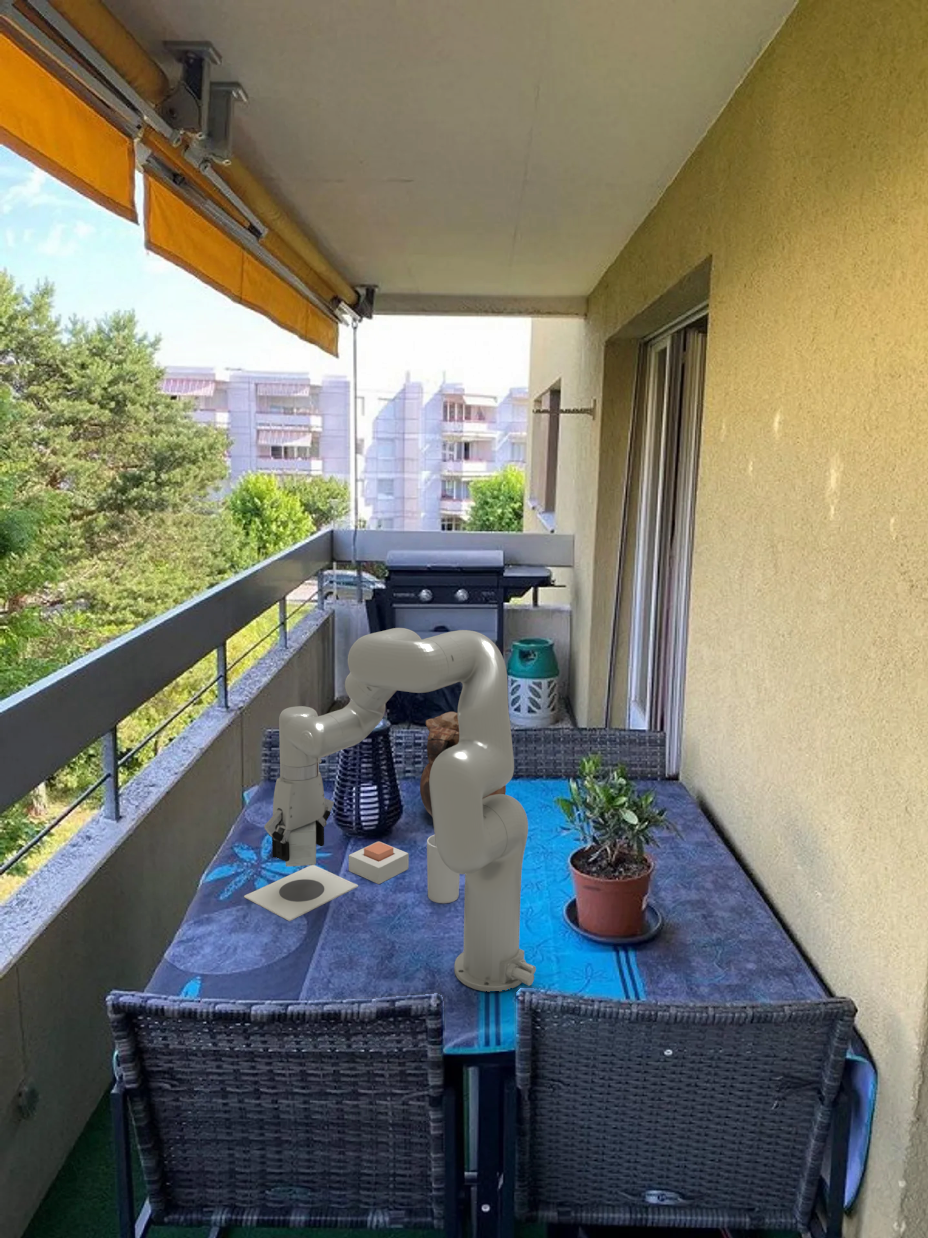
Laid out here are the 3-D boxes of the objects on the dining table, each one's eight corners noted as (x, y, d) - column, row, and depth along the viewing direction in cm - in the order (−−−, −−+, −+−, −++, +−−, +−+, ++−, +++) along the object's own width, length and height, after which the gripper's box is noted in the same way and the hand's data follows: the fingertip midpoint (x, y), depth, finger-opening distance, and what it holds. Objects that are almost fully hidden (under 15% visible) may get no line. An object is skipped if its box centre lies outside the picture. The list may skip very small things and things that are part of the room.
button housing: (408, 869, 189) (408, 853, 188) (378, 884, 182) (378, 868, 182) (378, 856, 195) (378, 841, 194) (348, 870, 188) (348, 855, 187)
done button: (393, 858, 188) (393, 847, 188) (378, 865, 185) (378, 854, 185) (378, 852, 191) (378, 841, 191) (364, 859, 188) (364, 848, 187)
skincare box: (316, 865, 175) (315, 830, 174) (285, 867, 174) (284, 832, 172) (316, 852, 181) (315, 818, 179) (286, 853, 180) (285, 819, 178)
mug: (455, 906, 174) (456, 849, 172) (422, 902, 175) (423, 846, 173) (466, 882, 184) (467, 828, 181) (435, 878, 185) (436, 825, 183)
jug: (428, 797, 228) (428, 704, 224) (508, 803, 226) (511, 709, 221) (411, 833, 207) (411, 731, 202) (500, 840, 204) (502, 736, 199)
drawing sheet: (358, 886, 181) (358, 884, 181) (289, 921, 167) (289, 919, 167) (312, 865, 190) (312, 864, 190) (244, 897, 176) (243, 895, 176)
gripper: (320, 754, 183) (320, 832, 186) (251, 776, 169) (253, 860, 173) (345, 762, 178) (345, 843, 181) (276, 786, 165) (278, 872, 168)
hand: (300, 851), depth 177 cm, fingers closed on skincare box, 8 cm apart
